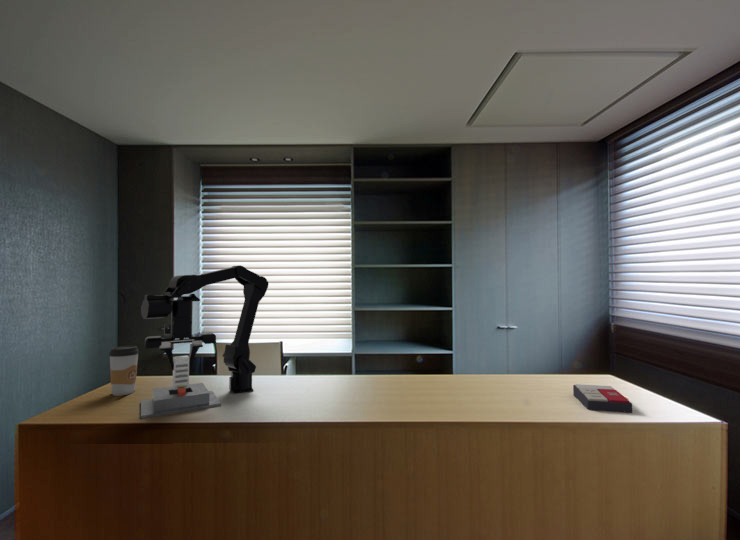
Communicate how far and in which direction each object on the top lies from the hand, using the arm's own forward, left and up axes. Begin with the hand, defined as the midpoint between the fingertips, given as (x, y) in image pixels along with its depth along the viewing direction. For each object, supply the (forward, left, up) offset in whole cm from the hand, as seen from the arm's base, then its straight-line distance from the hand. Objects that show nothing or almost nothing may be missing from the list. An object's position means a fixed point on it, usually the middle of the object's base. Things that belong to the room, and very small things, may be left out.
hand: (180, 369), depth 111 cm
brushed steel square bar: (0, 0, -5) cm, 5 cm away
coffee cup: (+15, -24, -11) cm, 30 cm away
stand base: (0, 0, -10) cm, 10 cm away
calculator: (-106, +66, -11) cm, 125 cm away
